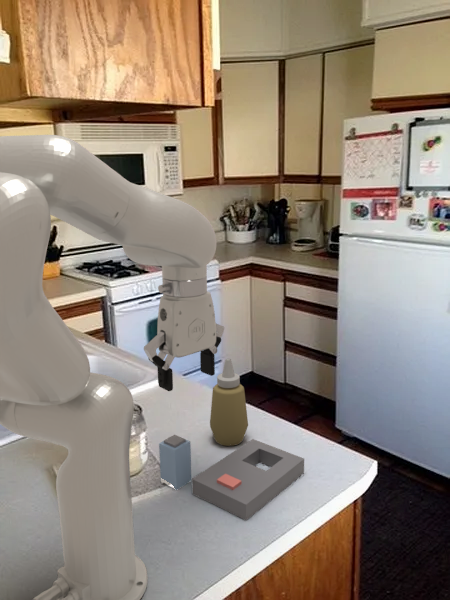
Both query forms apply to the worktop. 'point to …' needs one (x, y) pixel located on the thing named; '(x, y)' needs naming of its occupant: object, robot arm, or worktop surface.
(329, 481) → the worktop surface
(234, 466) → the power strip
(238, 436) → the squeeze bottle
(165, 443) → the plug
